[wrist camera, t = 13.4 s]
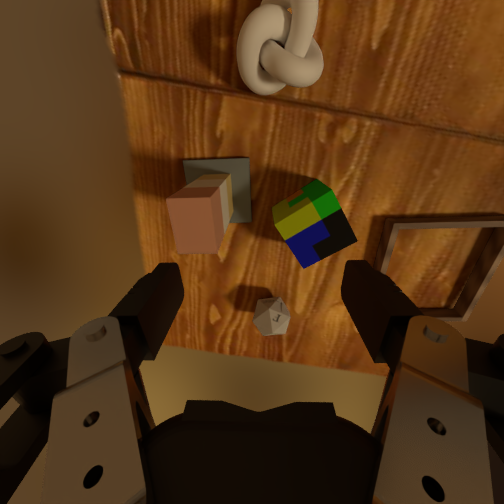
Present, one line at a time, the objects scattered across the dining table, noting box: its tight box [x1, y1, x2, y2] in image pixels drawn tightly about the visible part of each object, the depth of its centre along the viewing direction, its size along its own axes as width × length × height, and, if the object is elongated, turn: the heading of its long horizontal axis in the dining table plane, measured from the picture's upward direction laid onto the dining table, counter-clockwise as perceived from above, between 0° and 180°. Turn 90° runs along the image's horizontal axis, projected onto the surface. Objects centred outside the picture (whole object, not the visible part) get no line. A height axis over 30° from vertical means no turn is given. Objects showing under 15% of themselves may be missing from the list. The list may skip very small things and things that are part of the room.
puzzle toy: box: [272, 179, 358, 269], centre depth 40 cm, size 10×10×10 cm
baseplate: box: [183, 158, 252, 223], centre depth 42 cm, size 12×12×1 cm
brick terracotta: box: [166, 187, 224, 254], centre depth 28 cm, size 7×5×6 cm
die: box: [253, 297, 290, 336], centre depth 51 cm, size 8×9×10 cm
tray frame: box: [373, 215, 504, 321], centre depth 48 cm, size 25×23×3 cm
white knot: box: [236, 0, 324, 95], centre depth 29 cm, size 11×12×9 cm
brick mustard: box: [196, 174, 233, 219], centre depth 39 cm, size 7×5×6 cm
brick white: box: [183, 179, 230, 234], centre depth 33 cm, size 7×5×6 cm
